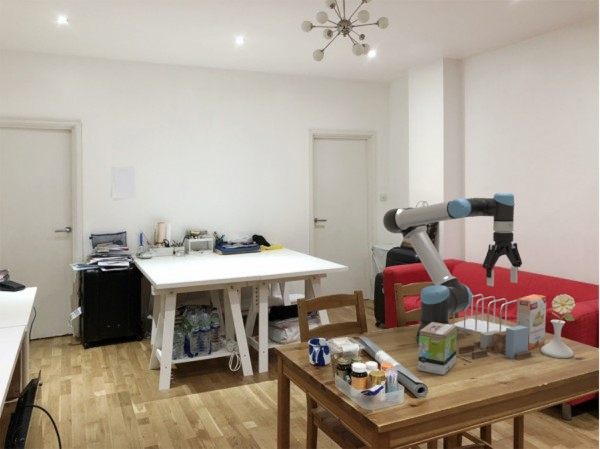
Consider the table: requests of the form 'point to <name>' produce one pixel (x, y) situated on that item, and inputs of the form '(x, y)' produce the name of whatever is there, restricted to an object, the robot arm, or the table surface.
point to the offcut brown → (499, 342)
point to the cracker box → (532, 318)
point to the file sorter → (481, 325)
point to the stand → (471, 353)
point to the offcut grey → (487, 339)
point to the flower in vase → (556, 345)
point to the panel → (516, 341)
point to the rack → (518, 356)
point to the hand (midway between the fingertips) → (502, 284)
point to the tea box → (437, 348)
